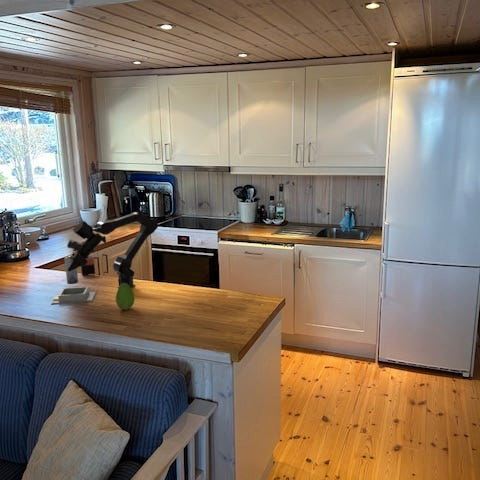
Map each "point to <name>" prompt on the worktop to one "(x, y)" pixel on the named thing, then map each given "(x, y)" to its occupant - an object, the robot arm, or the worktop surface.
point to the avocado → (125, 296)
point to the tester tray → (74, 295)
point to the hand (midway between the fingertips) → (68, 269)
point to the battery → (88, 267)
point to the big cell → (72, 275)
